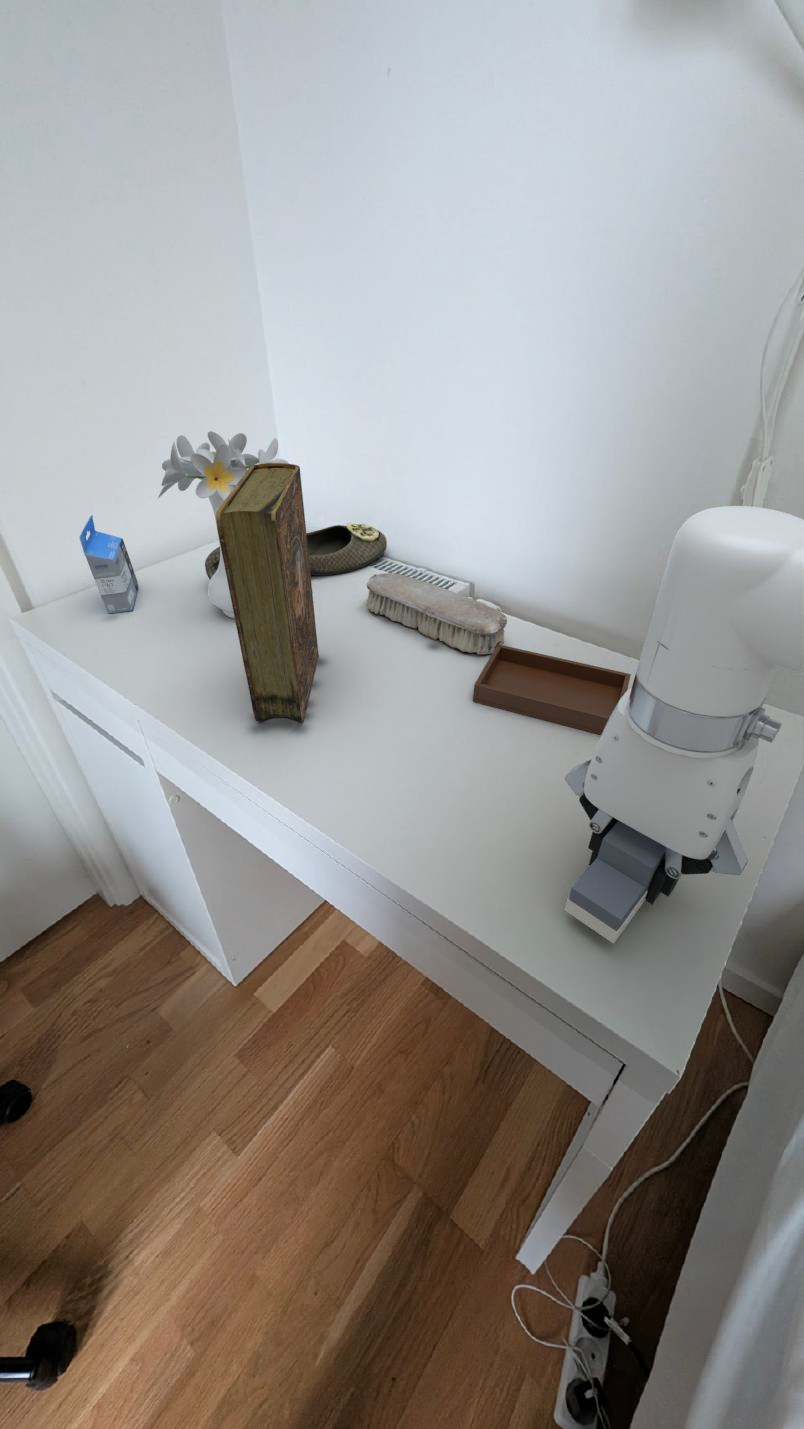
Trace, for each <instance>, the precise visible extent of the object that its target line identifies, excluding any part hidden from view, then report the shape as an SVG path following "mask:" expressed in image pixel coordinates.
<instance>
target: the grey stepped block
mask: <svg viewBox="0 0 804 1429" xmlns="http://www.w3.org/2000/svg"><path fill="white" fill-rule="evenodd" d="M665 855H666V846H664V845H662V844H660V843H658V842H656V841H655V840H653V839H651V838H649V837H647V836H646V835H644V834H642V833H640V832H638V831H637V830H635V829H633V828H631V827H630V826H628V825H626V824H624V823H622V822H621V821H618V822H617V823H616V824H615V825H614V827H613V828H612V829H611V830H610V831H609V832H608V834H607V835H606V836H605V837H604V838H603V840H602V843H601V847H600V850H599V853H598V856H597V858H596V859H595V861H594V862H593V863H592V864H591V865H589V866H588V867H587V869H586V870H585V871H584V872H583V873H582V874H581V876H579V878H578V879H577V881H576V882H575V883H574V884H573V885H572V887H571V889H570V893H569V896H568V897H567V899H566V902H565V906H564V911H565V912H567V913H568V914H570V915H571V916H572V917H573V918H575V919H577V920H578V921H580V922H581V923H583V924H584V925H586V926H587V927H588V928H590V929H592V930H593V931H594V932H596V933H597V934H598V935H600V936H602V937H603V938H604V939H606V940H607V941H609V943H612V944H615V943H616V941H617V940H618V939H619V937H620V936H621V935H622V933H623V932H624V930H625V929H626V928H627V927H628V925H629V923H630V922H631V920H632V919H633V918H634V916H635V915H636V914H637V912H638V911H639V909H640V908H641V906H642V905H643V904H644V903H645V901H646V900H647V899H646V898H645V897H646V895H647V893H648V889H649V887H650V884H651V882H652V879H653V877H654V874H655V872H656V870H657V869H658V868H659V866H660V865H661V863H662V862H663V861H664V859H665Z"/></svg>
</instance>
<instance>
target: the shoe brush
mask: <svg viewBox="0 0 804 1429" xmlns="http://www.w3.org/2000/svg"><path fill="white" fill-rule="evenodd" d="M366 587H367V590H368V594H367V595H368V596H367V600H366V608H367V609H368V610H369V611H370V613H371V612H374V614H376V615H381V616H382V615H383V616H385V617H386V618H389V619H390V620H391V621H392V622H398V623H401V624H402V625H403V626H404V627H405V626H406V627H408V628H412V629H417V628H418V631H419V632H420V633H421V634H423V635H424V636H426V637H430V638H431V639H434V641H436V640H437V639H439V641H440V642H444V643H445V644H446V645H447V646H450V647H451V648H455V649H458V650H460V651H461V652H462V653H464V652H467V653H469V654H470V653H476V654H477V655H489V654H490V655H492V654H493V652H494V650H495V649H496V647H497V645H498V644H499V645H504V641H505V628H506V626H507V623H508V619H507V616H506V615H505V614H504V613H503V612H502V611H499V610H497V609H495V608H493V607H491V606H488V605H486V603H484V602H481V601H478V600H474V599H473V598H470V597H468V596H466V595H463V594H461V593H457V592H455V591H453V590H450V589H447V588H445V587H442V586H439V585H437V584H433V583H431V582H428V581H424V580H421V579H417V578H414V577H411V576H407V575H404V574H400V573H395V572H384V573H379V574H373V575H372V576H370V578H369V579H368V580H367V582H366Z"/></svg>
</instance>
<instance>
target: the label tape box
mask: <svg viewBox="0 0 804 1429" xmlns="http://www.w3.org/2000/svg"><path fill="white" fill-rule="evenodd" d="M94 522H95V521H94V516H93V515H92V514H91V515H90V516H89V518H88V519H87V521H86V523H85V524H84V526H83V528H82V530H81V532H80V534H79V541H80V544H81V547H82V552H83V554H84V557H85V558H86V562H87V564H88V566H89V569H90V572H91V575H92V577H93V579H94V582H95V584H96V588H97V589H98V593H99V595H100V598H101V599H102V602H103V604H104V607H105V610H106V612H107V614H116V613H124V612H130V611H131V612H132V611H133V610H134V607H135V602H136V598H137V594H138V590H139V581H138V579H137V576H136V573H135V570H134V567H133V565H132V562H131V559H130V556H129V553H128V550H127V547H126V545H125V544H126V543H125V541H124V539H123V538H121V537H119V536H115V535H113V534H109V533H106V532H105V533H104V532H101V531H97V530H96V527H95V523H94ZM88 533H89V535H88ZM87 536H88V537H87Z"/></svg>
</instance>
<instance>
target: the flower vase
mask: <svg viewBox="0 0 804 1429" xmlns="http://www.w3.org/2000/svg"><path fill="white" fill-rule="evenodd" d="M247 438H248V437H247V435H246V434H244V433H243V432H239V433H237V434H234V435H233V436H232V438H231V439H229V438H227V441H228V442H226V440H225V439H224V438H223V437H222V436H221V435H220V434H219V433H217V432H215V431H212V430H209V431H208V432H207V439H208V440H209V442H203V443H201V444H199V445H198V446H197V448H196V450H194V448H193V446H192V444H191V442H190V441H189V438H187V436H185V435H182V434H180V435H178V436H177V438H176V441H173V443H172V444H171V450H170V457H169V458H168V459H165V460H164V461H163V462H162V464H161V469H163V471H165V472H164V475H163V478H162V481H161V487H162V488H161V490H160V492H159V494H158V497H157V499H160V498H161V497H162V496H163V495H164V494H165V493H166V492H167V491H168V490H169V489H171V488H172V487H174V486H175V485H176V484H177V488H178V490H179V491H180V492H184V491H186V490H187V489H188V488H189V487H190V486H191V485H192V483H193V481H194V480H195V479H198V480H200V481H199V482H198V483H197V485H196V488H195V495H196V496H197V497H198V499H208V500H209V502H210V505H211V508H212V512H213V515H214V519H215V521H216V512H217V510H218V509H219V508H220V506H221V505H222V504H223V502H224V501H225V500H226V498H227V497H228V496H229V494H230V493H231V492H232V490H233V489H234V488H235V486H236V485H237V484H238V482H239V481H240V480H241V478H242V477H243V476H244V474H245V473H246V471H247V470H248V469H249V467H250V466H253V465H258V464H266V463H285V464H290V463H289V462H288V460H286V459H284V458H276V456H277V454H278V450H279V441H278V438H273V439H272V440H271V442H270V444H269V446H268V448H267V449H266V451H265V450H264V449H262V448H260V449H259V450H258V452H257V456H255V455H254V454H250V453H243V452H244V450H245V448H246V446H247V442H248V439H247ZM175 442H176V443H175ZM209 443H210V444H211V445H210V444H209ZM227 443H228V444H227ZM211 446H212V447H213V449H214V450H215V451H210V450H211ZM215 524H216V525H215V526H217V523H216V522H215ZM216 531H217V533H218V530H217V529H216ZM217 537H218V539H219V535H218V534H217ZM218 545H219V546H220V541H219V540H218ZM207 597H208V599H209V601H210V602H211V603H212V604H213V605H214V607H216V608H218V609H219V610H221V611H222V613H223V614H224V615H225V616H226V617H228V618H231V619H235V617H234V612H233V606H232V601H231V596H230V591H229V586H228V581H227V576H226V571H225V566H224V561H223V556H222V551H221V546H220V561H219V566H218V569H217V571H216V572H215V573H214V575H213V576H212V577H211V579H209V581H208V584H207Z"/></svg>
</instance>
